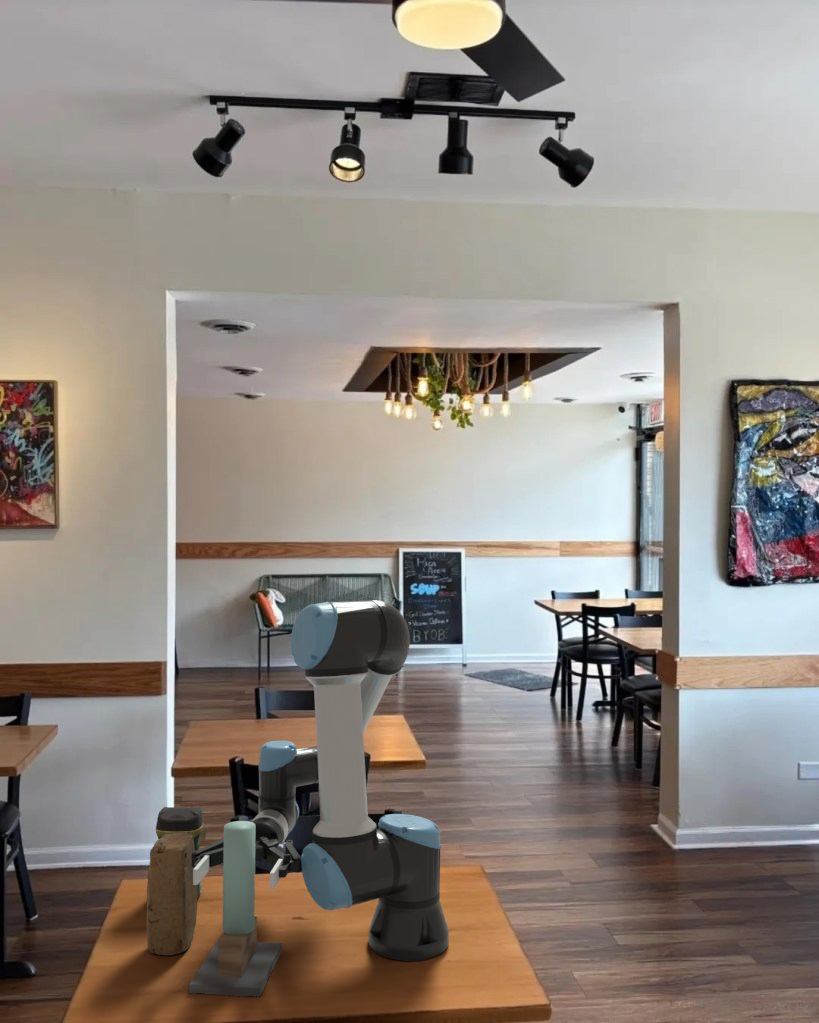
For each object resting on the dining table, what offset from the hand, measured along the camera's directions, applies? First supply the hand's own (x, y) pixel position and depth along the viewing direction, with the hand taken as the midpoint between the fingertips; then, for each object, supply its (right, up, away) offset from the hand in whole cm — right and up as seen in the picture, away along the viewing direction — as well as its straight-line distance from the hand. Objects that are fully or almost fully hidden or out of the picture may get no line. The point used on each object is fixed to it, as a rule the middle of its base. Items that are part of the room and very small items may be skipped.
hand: (233, 879), depth 155 cm
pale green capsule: (0, -10, +3) cm, 11 cm away
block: (-14, -18, +13) cm, 26 cm away
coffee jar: (-18, -18, +34) cm, 43 cm away
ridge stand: (0, -18, +3) cm, 18 cm away
